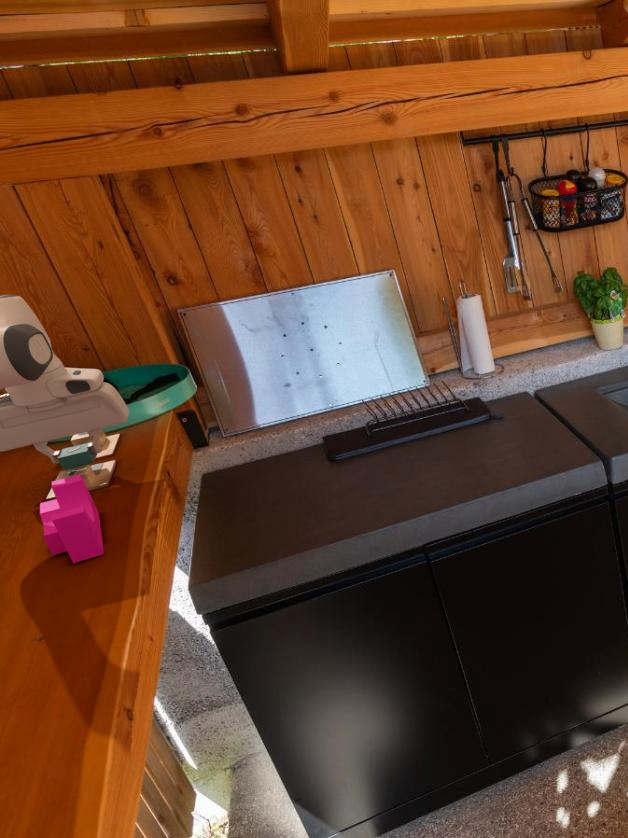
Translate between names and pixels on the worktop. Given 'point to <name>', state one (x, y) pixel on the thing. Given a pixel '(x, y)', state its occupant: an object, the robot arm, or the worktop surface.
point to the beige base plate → (89, 475)
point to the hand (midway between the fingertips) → (78, 457)
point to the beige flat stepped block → (105, 442)
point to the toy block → (72, 521)
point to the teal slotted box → (76, 456)
